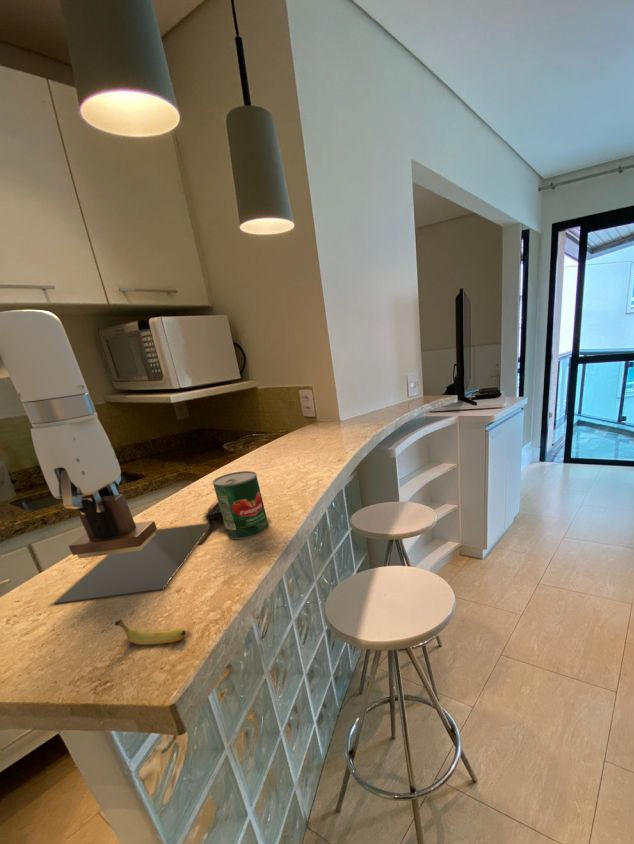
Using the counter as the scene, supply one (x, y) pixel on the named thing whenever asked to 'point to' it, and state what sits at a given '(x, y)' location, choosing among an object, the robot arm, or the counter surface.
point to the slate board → (140, 566)
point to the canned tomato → (241, 504)
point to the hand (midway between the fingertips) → (112, 530)
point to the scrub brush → (128, 531)
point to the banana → (151, 635)
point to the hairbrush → (214, 512)
